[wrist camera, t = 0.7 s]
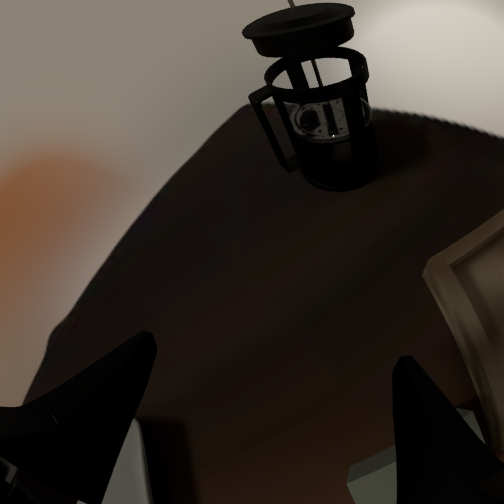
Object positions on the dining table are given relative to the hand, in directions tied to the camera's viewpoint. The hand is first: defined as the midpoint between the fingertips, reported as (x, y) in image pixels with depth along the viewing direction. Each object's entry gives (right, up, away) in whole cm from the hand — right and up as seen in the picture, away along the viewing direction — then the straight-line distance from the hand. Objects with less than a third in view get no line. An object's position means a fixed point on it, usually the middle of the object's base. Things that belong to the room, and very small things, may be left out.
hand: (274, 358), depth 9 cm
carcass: (+21, -2, +5) cm, 22 cm away
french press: (+9, +13, +20) cm, 25 cm away
